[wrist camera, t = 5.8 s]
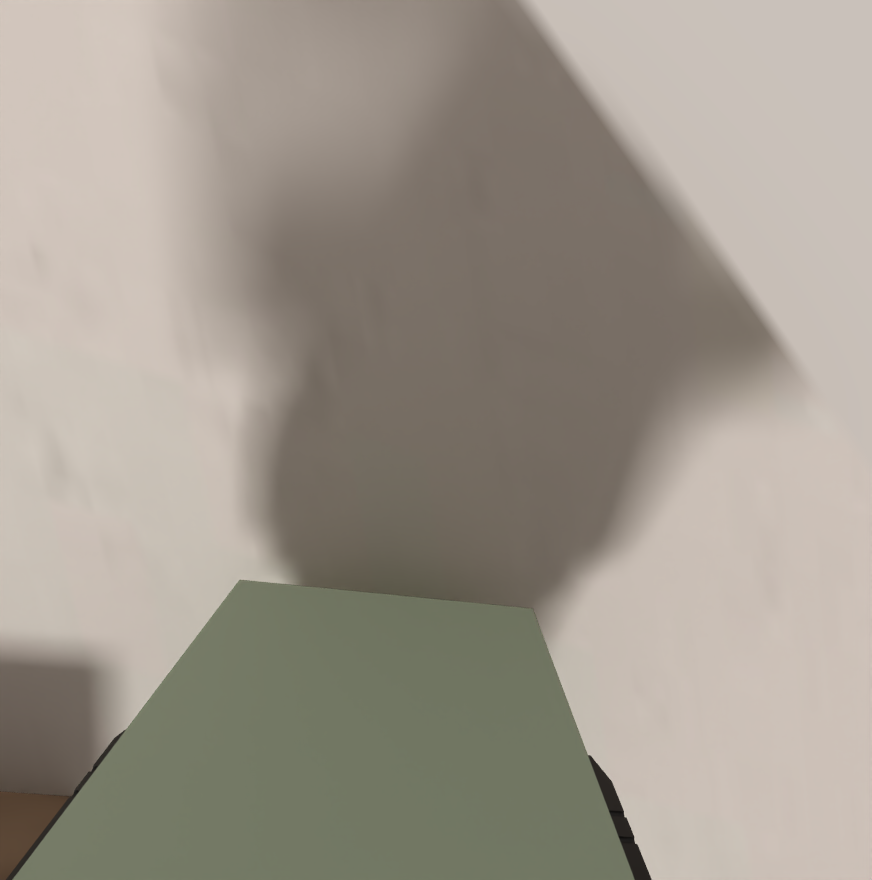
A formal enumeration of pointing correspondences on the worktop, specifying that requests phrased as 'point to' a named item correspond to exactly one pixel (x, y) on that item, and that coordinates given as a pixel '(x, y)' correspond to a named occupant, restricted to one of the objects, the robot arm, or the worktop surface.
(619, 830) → the robot arm
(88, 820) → the sage block
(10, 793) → the walnut block
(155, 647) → the worktop surface
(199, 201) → the worktop surface
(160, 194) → the worktop surface
